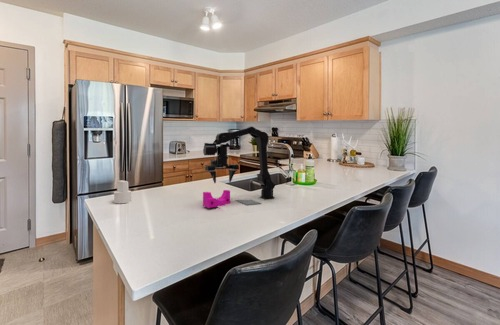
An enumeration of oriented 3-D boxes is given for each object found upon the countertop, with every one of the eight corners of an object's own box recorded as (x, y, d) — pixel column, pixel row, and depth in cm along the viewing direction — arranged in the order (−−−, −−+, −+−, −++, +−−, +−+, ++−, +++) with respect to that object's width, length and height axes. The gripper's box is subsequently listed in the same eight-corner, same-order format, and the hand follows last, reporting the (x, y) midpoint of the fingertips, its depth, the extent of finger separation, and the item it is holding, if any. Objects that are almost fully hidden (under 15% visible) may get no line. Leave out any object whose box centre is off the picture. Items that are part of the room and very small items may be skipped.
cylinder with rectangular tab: (134, 201, 153) (133, 181, 153) (117, 204, 146) (117, 182, 146) (127, 200, 159) (127, 180, 159) (111, 201, 153) (111, 181, 152)
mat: (246, 199, 165) (246, 198, 165) (261, 204, 149) (261, 202, 149) (233, 200, 160) (233, 199, 160) (246, 205, 144) (246, 204, 144)
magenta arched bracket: (208, 207, 139) (208, 193, 138) (203, 205, 144) (203, 192, 143) (232, 204, 148) (232, 191, 148) (226, 202, 153) (226, 189, 152)
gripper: (231, 154, 162) (231, 180, 163) (201, 155, 153) (202, 182, 154) (239, 155, 152) (239, 182, 153) (208, 155, 143) (208, 184, 144)
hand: (222, 182), depth 151 cm, fingers open, 9 cm apart
